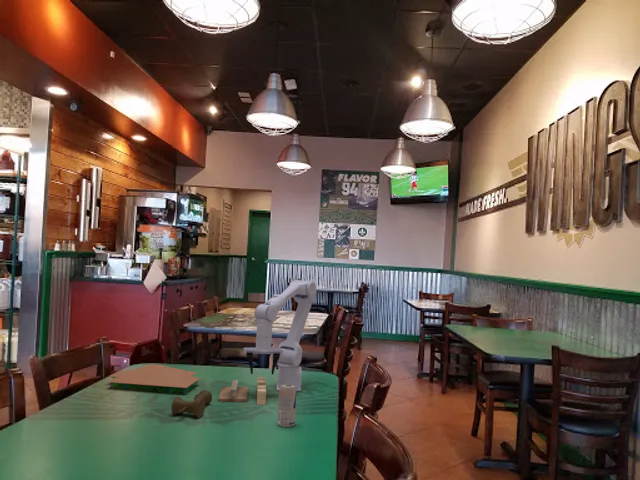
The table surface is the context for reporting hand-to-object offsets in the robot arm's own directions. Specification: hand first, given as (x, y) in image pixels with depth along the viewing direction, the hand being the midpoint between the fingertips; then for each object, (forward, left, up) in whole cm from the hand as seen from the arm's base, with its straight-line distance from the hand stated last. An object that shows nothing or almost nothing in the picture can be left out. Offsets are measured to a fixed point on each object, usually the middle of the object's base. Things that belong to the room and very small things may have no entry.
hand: (262, 373), depth 182 cm
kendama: (+22, +19, -9) cm, 30 cm away
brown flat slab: (+41, -15, -9) cm, 44 cm away
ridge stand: (+10, -1, -8) cm, 13 cm away
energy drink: (-8, +30, -9) cm, 32 cm away
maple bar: (0, 0, -9) cm, 9 cm away
